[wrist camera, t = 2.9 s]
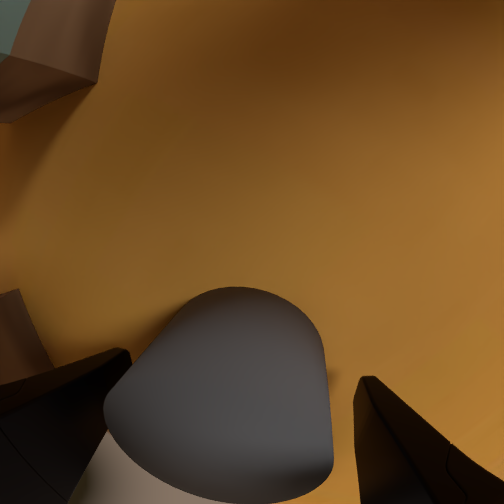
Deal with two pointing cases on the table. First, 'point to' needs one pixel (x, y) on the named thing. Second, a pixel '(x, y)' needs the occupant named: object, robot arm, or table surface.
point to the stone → (229, 401)
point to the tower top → (10, 23)
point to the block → (19, 341)
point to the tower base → (53, 54)
